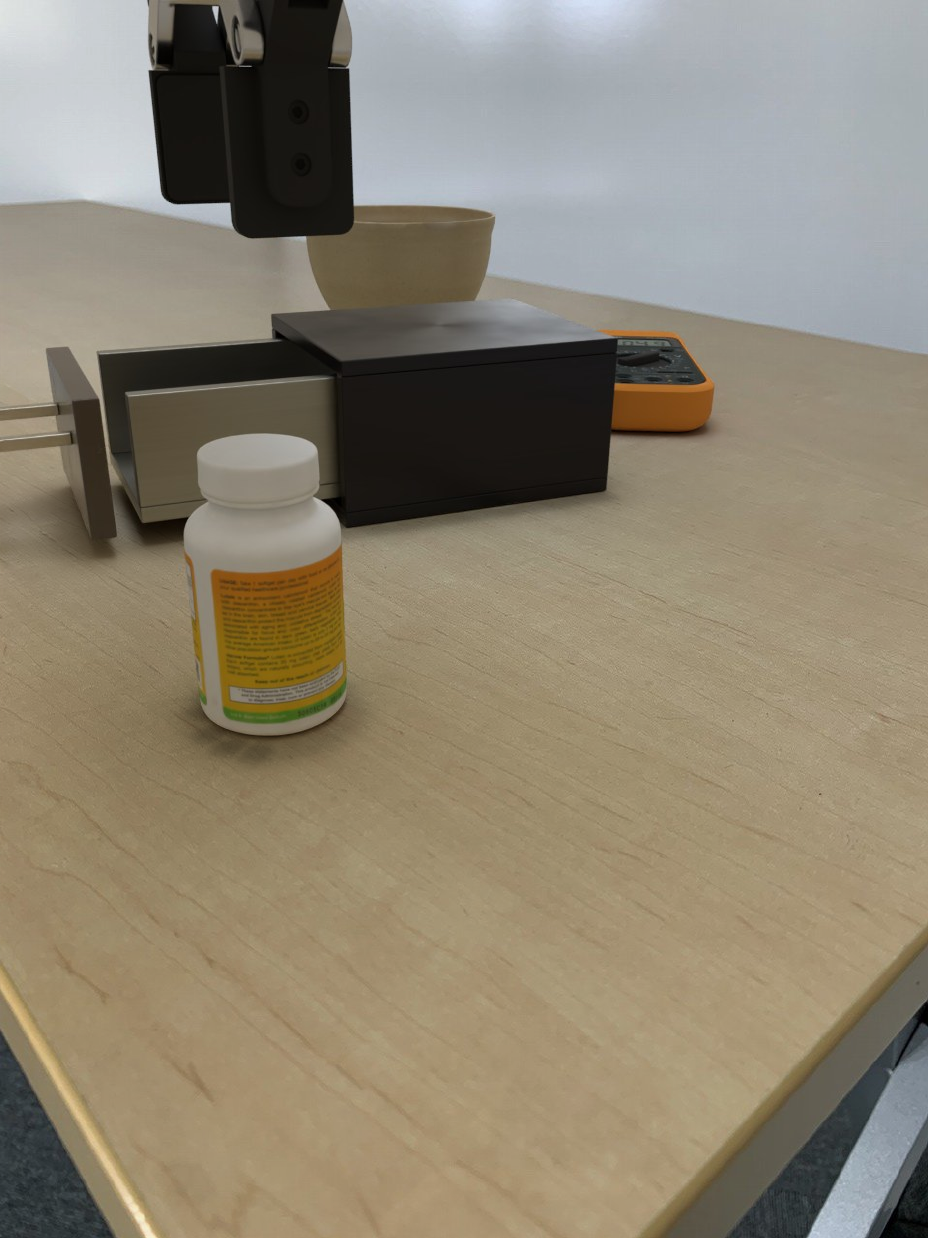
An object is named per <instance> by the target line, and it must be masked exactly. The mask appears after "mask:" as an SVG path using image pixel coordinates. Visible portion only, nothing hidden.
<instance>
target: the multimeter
mask: <svg viewBox="0 0 928 1238" xmlns="http://www.w3.org/2000/svg"><path fill="white" fill-rule="evenodd" d="M596 330H597V331H600V332H602V333H605V334H608V335H610V336H613V337H616V338H618V346H617V352H616V353H617V363H616V376H615V388H614V401H613V414H612V427H611V430H615V431H634V432H636V431H637V432H672V433H673V432H678V433H679V432H690V431H693V430H696V429H698V428H700V427H702V426H703V425H705V424H706V422H707V421H708V420H709V419H710V417H711V414H712V409H713V401H714V393H715V382H713V380H712V379H711V378H710V377H709V376H708V374H707V373H706V372H705V371H704V370H703V368H702V367H701V366H700V365H699V363H698V362H697V361H696V359H695V358H694V356H693V354H692V353H691V352H690V351H689V349H688V348H687V346H686V344H685V342H684V340H683V338H682V337H681V336H680V335H678V334H676V333H675V332H672V331H663V330H626V329H596Z"/></svg>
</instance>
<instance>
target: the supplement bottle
mask: <svg viewBox="0 0 928 1238" xmlns="http://www.w3.org/2000/svg"><path fill="white" fill-rule="evenodd" d="M197 465H198V485H199V487H200V489H201V494H202V496H203V497H204V498H206V499H207V500H208V502H207V503H205V504H203V505H202V506H200V507H199V508H198V509H196V510H195V511H194V512H193V513H192V515H191V516H190V517H188V519H187V520H186V523H185V525H184V529H183V550H184V559H185V560H184V561H185V570H186V579H187V588H188V599H189V609H190V618H191V629H192V639H193V649H194V657H195V658H194V660H195V670H196V679H197V688H198V694H199V701H200V705H201V709H202V711H203V712H204V714H205V715H206V717H207V718H208V719H209V720H210V721H212V722H213V723H215V724H216V725H218V726H219V727H221V728H224V729H226V730H229V731H232V732H236V733H240V734H243V735H244V734H245V735H250V736H251V735H253V736H285V735H290V734H291V735H292V734H296V733H300V732H304V731H307V730H309V729H312V728H315V727H316V726H318V725H321V724H322V723H324V722H326V721H328V720H329V719H330V718H331V717H333V716H334V715H335V714H336V713H337V712H338V711H340V709H341V708H342V706H343V704H344V703H345V700H346V697H347V691H348V682H347V681H348V679H347V678H348V677H347V655H346V654H347V653H346V652H347V650H346V630H345V628H346V627H345V601H344V598H345V597H344V569H343V542H342V541H343V540H342V527H341V522H340V520H339V519H338V518H337V516H336V514H335V512H334V511H333V510H332V509H331V508H330V507H329V506H328V505H327V504H325V503H324V502H322V501H321V500H319V499H317V498H315V497H313V495H314V494H315V493H316V492H317V491H318V489H319V478H320V477H319V463H318V451H317V448H316V446H315V445H314V444H313V443H311V442H310V441H308V440H305V439H302V438H299V437H294V436H289V435H280V434H244V435H236V436H230V437H225V438H221V439H217V440H214V441H211V442H209V443H207V444H205V445H204V446H202V447H201V448H200V449H199V450H198V453H197Z"/></svg>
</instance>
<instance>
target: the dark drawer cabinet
mask: <svg viewBox="0 0 928 1238" xmlns="http://www.w3.org/2000/svg"><path fill="white" fill-rule="evenodd" d="M270 321H271V338H281V337H286V338H288V339H289V340H291V341H292V342H293V343H295V344H296V345H298V346H299V347H301V348H302V349H303V350H305V351H306V352H308V353H309V354H310V355H312V356H313V357H315V358H316V359H318V360H319V361H320V362H322V363H323V364H325V365H326V366H327V367H329V368H330V369H332V370H333V371H335V372H336V373H337V393H338V422H339V452H340V482H341V497H337V498H330V499H322V500H321V501H322V502H324V503H325V504H327V505H328V506H329V507H330V508H331V509H332V510H333V511H334V512H335V514H336V516H337V518H338V520H339V522H340V523H342V524H343V525H344V526H345V527H346V528H350V527H359V526H365V525H371V524H372V525H373V524H379V523H386V522H395V521H400V520H406V519H407V520H408V519H414V518H421V517H422V518H423V517H429V516H434V515H442V514H449V513H455V512H456V513H457V512H462V511H470V510H477V509H482V508H483V509H484V508H492V507H498V506H504V505H512V504H519V503H525V502H533V501H540V500H546V499H547V500H548V499H554V498H560V497H568V496H575V495H582V494H589V493H597V492H603V491H607V488H608V487H607V486H608V477H609V475H608V474H609V464H610V463H609V462H610V451H611V450H610V449H611V438H612V437H611V436H612V429H611V427H612V414H613V401H614V388H615V376H616V363H617V353H616V352H617V346H618V338H616V337H613V336H610V335H608V334H605V333H602V332H600V331H597V330H598V329H594V328H591V327H590V326H587V325H584V324H581V323H579V322H576V321H574V320H570V319H568V318H565V317H563V316H560V315H558V314H555V313H552V312H551V311H550V312H549V311H547V310H544V309H542V308H539V307H536V306H534V305H532V304H528V303H526V302H523V301H520V300H518V299H515V298H512V297H511V298H495V299H482V300H481V299H480V300H475V301H464V302H448V303H433V304H417V305H402V306H386V307H371V308H355V309H340V310H330V309H326V310H325V309H324V310H311V311H309V310H308V311H296V312H295V311H293V312H277V313H271V314H270Z"/></svg>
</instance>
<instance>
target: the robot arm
mask: <svg viewBox="0 0 928 1238" xmlns="http://www.w3.org/2000/svg"><path fill="white" fill-rule="evenodd" d="M146 1H147V2H146V3H147V7H148V16H147V17H148V21H147V48H148V56H149V62H150V66H151V68H152V69H149V70H148V71H147V72H148V80H149V91H150V99H151V101H150V102H151V109H152V119H153V129H154V138H155V139H154V140H155V148H156V159H157V167H158V177H159V178H158V179H159V187H160V193H161V196H162V198H163V199H164V200H165V201H166V202H168V203H170V204H172V205H179V206H180V205H207V204H211V205H212V204H229V206H230V220H231V224H232V227H233V229H234V231H235V232H236V233H237V234H238V235H240V236H242V237H244V238H247V239H255V240H256V239H276V238H298V237H299V238H300V237H306V236H326V235H342V234H346V233H347V232H349V231H350V229H351V228H352V226H353V224H354V205H355V203H354V199H355V198H354V197H355V196H354V173H353V172H354V171H353V170H354V169H353V167H354V166H353V165H354V164H353V141H352V139H353V138H352V111H351V110H352V107H351V105H352V103H351V78H350V77H351V75H350V73H351V72H350V67H349V64H350V63H351V58H352V54H353V53H352V52H353V32H352V26H351V23H350V22H351V21H350V18H349V14H348V10H347V8H346V3H345V1H344V0H146ZM213 7H218V9H217V10H218V11H217V20H216V16H215V12H214V9H213Z"/></svg>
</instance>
